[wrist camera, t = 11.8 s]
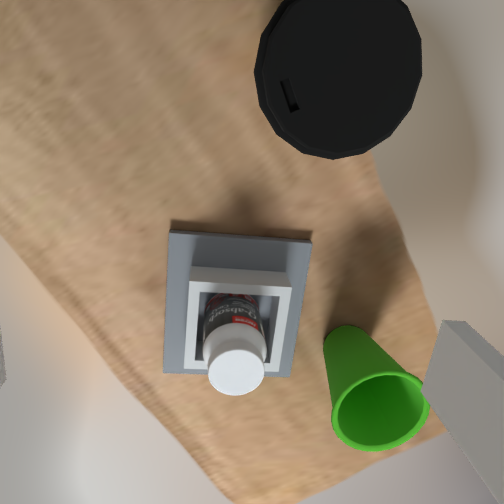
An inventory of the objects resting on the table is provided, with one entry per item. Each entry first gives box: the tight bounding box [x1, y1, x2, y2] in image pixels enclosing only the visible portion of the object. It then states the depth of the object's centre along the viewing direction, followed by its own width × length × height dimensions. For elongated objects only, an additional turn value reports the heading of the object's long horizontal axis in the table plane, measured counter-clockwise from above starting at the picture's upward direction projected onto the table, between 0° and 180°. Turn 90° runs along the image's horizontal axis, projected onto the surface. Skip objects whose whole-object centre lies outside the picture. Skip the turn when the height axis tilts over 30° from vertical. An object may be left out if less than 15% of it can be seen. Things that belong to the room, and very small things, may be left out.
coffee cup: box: [254, 0, 422, 160], centre depth 31 cm, size 11×11×12 cm
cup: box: [323, 325, 430, 451], centre depth 43 cm, size 9×9×11 cm
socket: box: [163, 230, 312, 377], centre depth 42 cm, size 16×14×4 cm
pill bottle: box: [203, 293, 267, 395], centre depth 39 cm, size 6×6×10 cm
